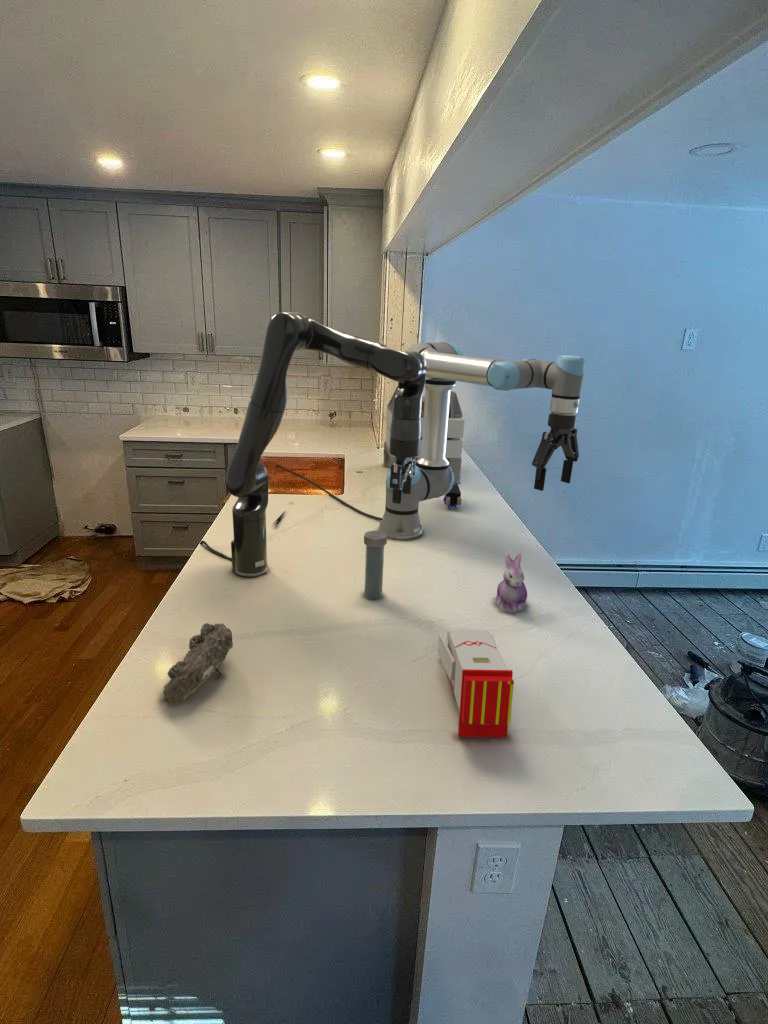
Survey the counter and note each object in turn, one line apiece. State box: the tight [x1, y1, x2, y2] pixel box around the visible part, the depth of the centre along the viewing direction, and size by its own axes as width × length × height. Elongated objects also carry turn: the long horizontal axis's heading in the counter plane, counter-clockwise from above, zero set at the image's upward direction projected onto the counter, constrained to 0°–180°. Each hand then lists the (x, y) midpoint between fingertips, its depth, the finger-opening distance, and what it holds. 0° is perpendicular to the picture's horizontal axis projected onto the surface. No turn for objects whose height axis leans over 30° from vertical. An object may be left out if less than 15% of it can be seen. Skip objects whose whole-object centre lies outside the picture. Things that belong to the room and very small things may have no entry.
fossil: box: [162, 622, 234, 703], centre depth 119 cm, size 22×10×15 cm
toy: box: [437, 628, 515, 738], centre depth 117 cm, size 12×13×30 cm
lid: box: [363, 530, 388, 547], centre depth 151 cm, size 6×6×2 cm
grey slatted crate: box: [383, 385, 465, 484], centre depth 268 cm, size 34×33×41 cm
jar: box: [363, 544, 385, 600], centre depth 154 cm, size 5×5×18 cm
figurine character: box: [442, 483, 462, 510], centre depth 230 cm, size 7×8×15 cm
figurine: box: [495, 552, 528, 614], centre depth 152 cm, size 9×10×15 cm
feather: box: [272, 510, 286, 528], centre depth 212 cm, size 2×28×2 cm
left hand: (401, 498), depth 145 cm, fingers open, 8 cm apart
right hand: (552, 485), depth 166 cm, fingers open, 13 cm apart
